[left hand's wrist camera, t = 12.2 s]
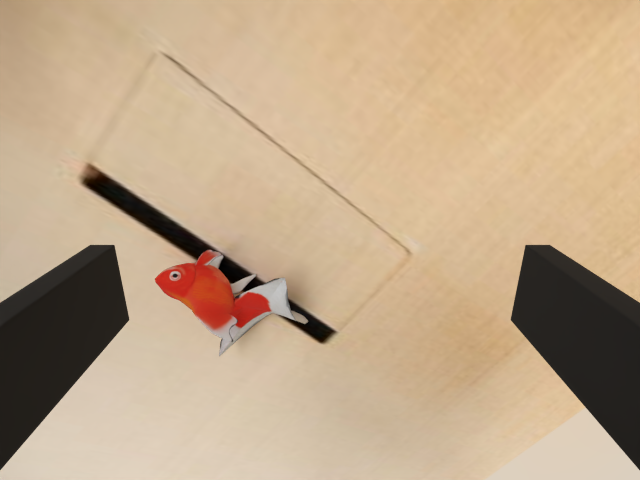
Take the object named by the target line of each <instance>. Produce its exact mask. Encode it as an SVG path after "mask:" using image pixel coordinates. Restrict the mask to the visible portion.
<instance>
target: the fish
mask: <svg viewBox="0 0 640 480" xmlns="http://www.w3.org/2000/svg"><path fill="white" fill-rule="evenodd" d="M222 259H223V255H222V254H221V253H220V252H214V251H212V250H207V251H206V252H203V253H202V254H201V256H200V257H199V259H198V260H197V262H196V263H185V264H181V265H176V266H173V267H170V268H168V269H166V270H164V271H163V272H161V273H160V274H159V275H158V276H157V277H156V278H155V282H156V283H157V284H158V285H159V287H160V288H161V289H162V290H163V292H164V293H165V294H167V295H168V296H170V297H172V298H174V299H177V300H180V301H181V302H182V303H184V304H185V305H186V306H187V307H189V308H190V309H191V310H192V311H193V313H194V314H195V316H196V317H197V318H198V319H199V320H200V321H201V322H202V324H203V325H204V326H205V327H206V328H207V329H208V330H209V331H210V332H211V333H213V334H215V335H216V336H218V337H220V338H222V340H221V344H220V353H219V356H220V355H221V354H223V353H224V352H225V351H226V350H227V349H228V348H229V347H230V346H231V345H232V344H234V343H235V342H236V341H237V340H238V339H239V338H240V337H241V336H242V335H244V334H245V333H246V332H247V331H248V330H249V329H250V328H251V327H253V326H254V325H255V324H256V323H258V322H259V321H260V320H262V319H263V318H264V317H266V316H267V315H269V314H271V313H275V314H278V315H282V316H285V317H288V318H290V319H293V320H296V321H298V322H301V323H304V324H306V323H307V322H308V320H307V319H306V318H305V317H304V316H302V315H301V314H299V313H297V312H295V311H291V309H290V306H289V302H288V293H287V286H286V281H285V278H278V279H274V280H272V281H269V282H267V283H265V284H263V285H261V286H258V287H256V288H253V289H251V290H249V291H247V292H244V293H242V294H240V295H238V296H236V297H235V298H234V296H233V294H237V293H239V292H240V291H241V290H243V288H244V287H245V286H246V285H247V284H248V283H249V282H250V281H251V280H252V279H253V278H254V277H255V276H256V274H254V275H252V276H249V277H246V278H244V279H241V280H240V281H238V282H236V283H234V284H230V283H229V281H228V279H227V278H226V277H225V275H224V274H223V273H222V272H221V271H220V270H219V269H218V268H219V266H220V263H221V261H222Z"/></svg>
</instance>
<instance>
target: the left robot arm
mask: <svg viewBox="0 0 640 480" xmlns="http://www.w3.org/2000/svg"><path fill="white" fill-rule="evenodd" d="M128 321H129V316H128V311H127V306H126V301H125V296H124V291H123V286H122V281H121V276H120V271H119V266H118V261H117V256H116V251H115V246H114V245H90V246H88V247H87V248H85V249H83V250H82V251H80V252H79V253H77V254H76V255H74V256H73V257H71V258H69V259H68V260H66V261H65V262H63V263H62V264H60V265H59V266H57V267H55V268H54V269H52V270H51V271H49V272H48V273H46V274H44V275H43V276H41V277H40V278H38V279H37V280H35V281H34V282H32V283H30V284H29V285H27V286H26V287H24V288H23V289H21V290H20V291H18V292H16V293H15V294H13V295H12V296H10V297H9V298H7V299H6V300H4V301H2V302H1V303H0V470H1V469H2V468H3V466H4V465H5V464H6V463H7V462H8V461H9V459H10V458H11V457H12V456H13V455H14V454H15V452H16V451H17V450H18V449H19V448H20V447H21V445H22V444H23V443H24V442H25V441H26V440H27V438H28V437H29V436H30V435H31V434H32V433H33V431H34V430H35V429H36V428H37V427H38V426H39V424H40V423H41V422H42V421H43V420H44V419H45V417H46V416H47V415H48V414H49V413H50V412H51V410H52V409H53V408H54V407H55V406H56V405H57V403H58V402H59V401H60V400H61V399H62V398H63V396H64V395H65V394H66V393H67V392H68V391H69V389H70V388H71V387H72V386H73V385H74V384H75V382H76V381H77V380H78V379H79V378H80V377H81V375H82V374H83V373H84V372H85V371H86V370H87V368H88V367H89V366H90V365H91V364H92V363H93V361H94V360H95V359H96V358H97V357H98V356H99V355H100V353H101V352H102V351H103V350H104V349H105V348H106V346H107V345H108V344H109V343H110V342H111V341H112V339H113V338H114V337H115V336H116V335H117V334H118V332H119V331H120V330H121V329H122V328H123V327H124V325H125V324H126V323H127V322H128ZM511 321H512V322H513V323H514V324H515V325H516V327H517V328H518V329H519V330H520V331H521V332H522V334H523V335H524V336H525V337H526V338H527V339H528V341H529V342H530V343H531V344H532V345H533V346H534V348H535V349H536V350H537V351H538V352H539V353H540V355H541V356H542V357H543V358H544V359H545V360H546V362H547V363H548V364H549V365H550V366H551V367H552V368H553V370H554V371H555V372H556V373H557V374H558V375H559V377H560V378H561V379H562V380H563V381H564V382H565V384H566V385H567V386H568V387H569V388H570V389H571V391H572V392H573V393H574V394H575V395H576V396H577V398H578V399H579V400H580V401H581V402H582V403H583V405H584V406H585V407H586V408H587V409H588V410H589V412H590V413H591V414H592V415H593V416H594V417H595V419H596V420H597V421H598V422H599V423H600V424H601V426H602V427H603V428H604V429H605V430H606V431H607V433H608V434H609V435H610V436H611V437H612V438H613V440H614V441H615V442H616V443H617V444H618V445H619V447H620V448H621V449H622V450H623V451H624V452H625V454H626V455H627V456H628V457H629V458H630V459H631V461H632V462H633V463H634V464H635V465H636V466H637V467H638V469H639V470H640V303H639V302H638V301H636V300H634V299H633V298H631V297H630V296H628V295H627V294H625V293H624V292H622V291H620V290H619V289H617V288H616V287H614V286H613V285H611V284H610V283H608V282H606V281H605V280H603V279H602V278H600V277H599V276H597V275H596V274H594V273H592V272H591V271H589V270H588V269H586V268H585V267H583V266H581V265H580V264H578V263H577V262H575V261H574V260H572V259H571V258H569V257H567V256H566V255H564V254H563V253H561V252H560V251H558V250H557V249H555V248H553V247H552V246H550V245H526V246H525V251H524V256H523V261H522V266H521V271H520V276H519V281H518V286H517V291H516V296H515V301H514V306H513V311H512V316H511Z"/></svg>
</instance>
